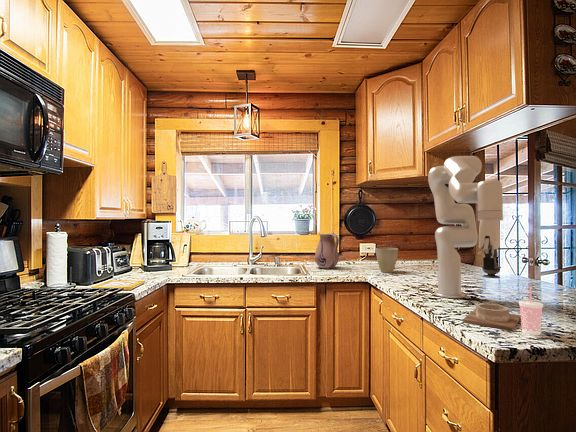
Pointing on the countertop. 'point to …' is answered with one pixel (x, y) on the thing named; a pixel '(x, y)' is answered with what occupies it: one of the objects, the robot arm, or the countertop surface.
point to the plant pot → (386, 259)
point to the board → (493, 317)
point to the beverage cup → (531, 316)
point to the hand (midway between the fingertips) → (491, 268)
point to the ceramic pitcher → (327, 251)
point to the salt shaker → (492, 272)
